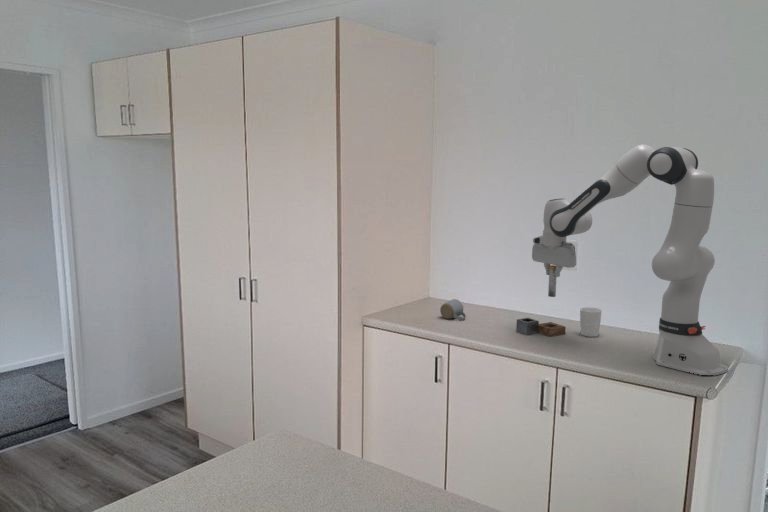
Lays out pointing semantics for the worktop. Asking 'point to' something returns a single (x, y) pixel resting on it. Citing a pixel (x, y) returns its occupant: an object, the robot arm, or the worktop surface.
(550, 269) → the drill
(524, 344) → the worktop surface
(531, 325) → the socket block
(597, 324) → the white cup
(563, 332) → the block
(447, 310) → the ceramic mug
